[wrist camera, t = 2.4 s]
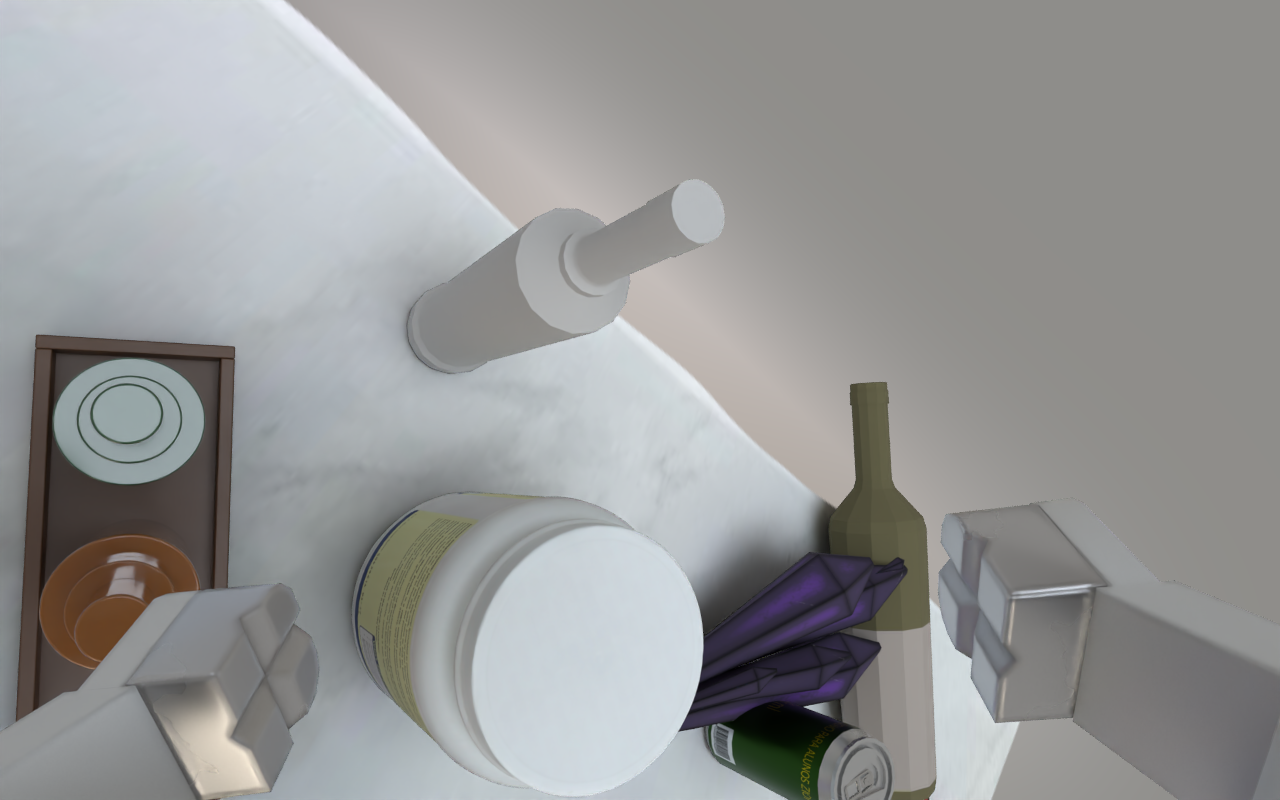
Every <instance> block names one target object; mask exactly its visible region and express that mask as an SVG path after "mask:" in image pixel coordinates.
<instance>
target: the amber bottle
mask: <svg viewBox="0 0 1280 800" xmlns="http://www.w3.org/2000/svg"><path fill="white" fill-rule="evenodd" d="M197 590H200V591H201V589H200V582H199V577H198V574H197V571H196V568H195V565H194V562H193V560H192V557H191V554H190V551H189V548H188V546H187V544H186V543H185V541H184V540H183V538H182V537H181V536H180V535H179V534H178V533H177V532H176V531H174V530H173V529H172V528H170V527H168V526H166V525H165V524H162V523H159V522H156V521H152V520H147V519H127V520H122V521H118V522H115V523H111V524H109V525H107V526H104V527H102V528H101V529H99V530H97V531H96V532H94V533H93V534H92V535H90V536H89V537H88V538H87V539H86V540H85V541H84V542H83V543H82V544H80V545H79V546H78V547H77V548H76V549H75V550H74V551H73V552H72V553H71V554H70V555H69V556H67V557H66V558H65V559H64V560H63V561H62V562H61V563H60V564H59V565H58V566H57V568H56V569H55V570H54V571H53V573H52V574H51V576H50V577H49V579H48V580H47V582H46V585H45V587H44V589H43V592H42V595H41V599H40V606H39V618H40V623H41V628H42V630H43V633H44V636H45V637H46V639H47V641H48V642H49V644H50V645H51V646H52V647H53V649H54V650H55V651H56V652H57V653H59V654H60V655H61V656H62V657H63V658H65V659H67V660H68V661H70V662H72V663H74V664H76V665H78V666H81V667H85V668H88V669H93V670H95V669H96V668H97V667H98V665H99V664H100V663H101V662H102V661H103V659H104V658H105V657H106V656H107V655H108V653H109V652H110V651H111V650H112V649H113V647H114V646H115V645H116V644H117V643H118V641H119V640H120V639H121V638H122V637H123V635H124V634H125V633H126V632H127V631H128V630H129V628H130V627H131V626H132V625H133V624H134V622H135V621H136V620H137V619H138V618H139V616H140V615H141V614H142V613H143V612H144V610H145V609H146V608H147V607H148V606H149V604H150V603H151V602H152V601H153V600H154V599H155V598H157V597H160V596H162V595H165V594H168V593H177V592H187V591H197Z"/></svg>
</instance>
